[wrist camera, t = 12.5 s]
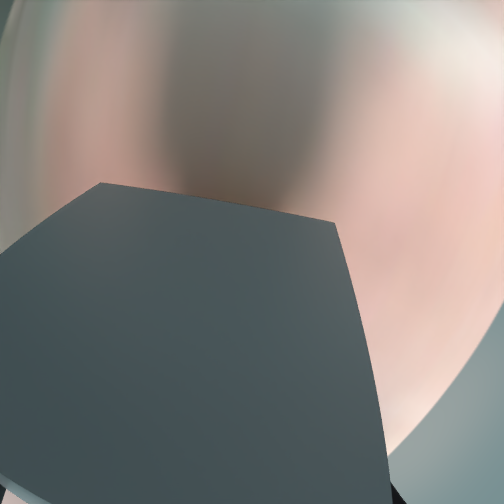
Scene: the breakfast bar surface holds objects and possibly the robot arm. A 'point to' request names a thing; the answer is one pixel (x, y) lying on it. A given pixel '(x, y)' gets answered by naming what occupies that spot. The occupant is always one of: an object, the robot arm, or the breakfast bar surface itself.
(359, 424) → the matte grey cube
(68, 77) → the breakfast bar surface
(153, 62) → the breakfast bar surface
